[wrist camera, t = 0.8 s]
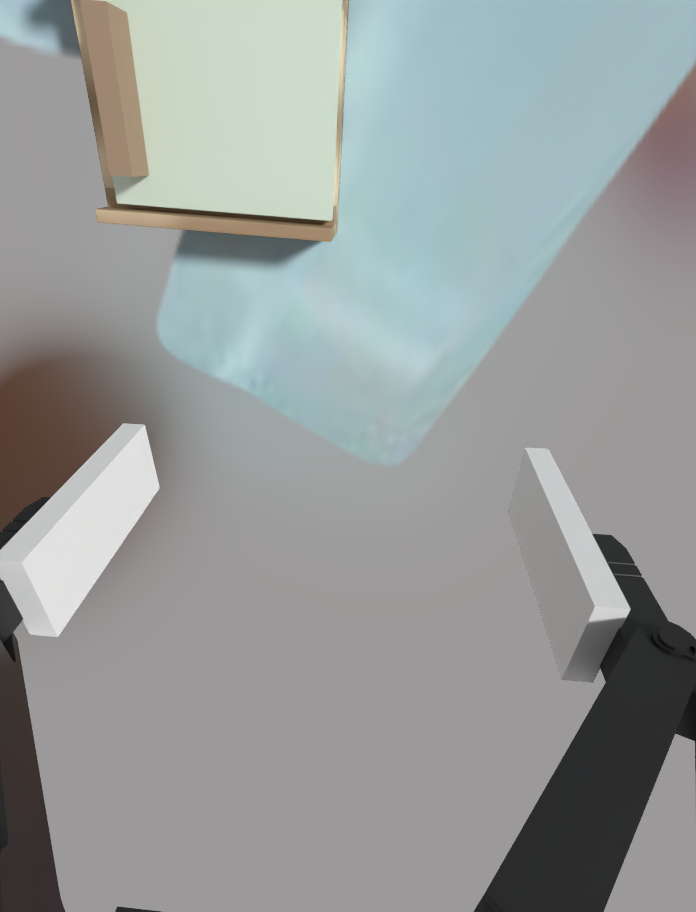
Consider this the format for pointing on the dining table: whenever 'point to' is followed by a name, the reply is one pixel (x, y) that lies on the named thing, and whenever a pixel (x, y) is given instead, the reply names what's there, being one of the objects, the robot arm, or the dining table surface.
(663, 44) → the dining table surface
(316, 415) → the dining table surface
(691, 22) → the dining table surface
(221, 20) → the lid
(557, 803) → the robot arm
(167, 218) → the box
